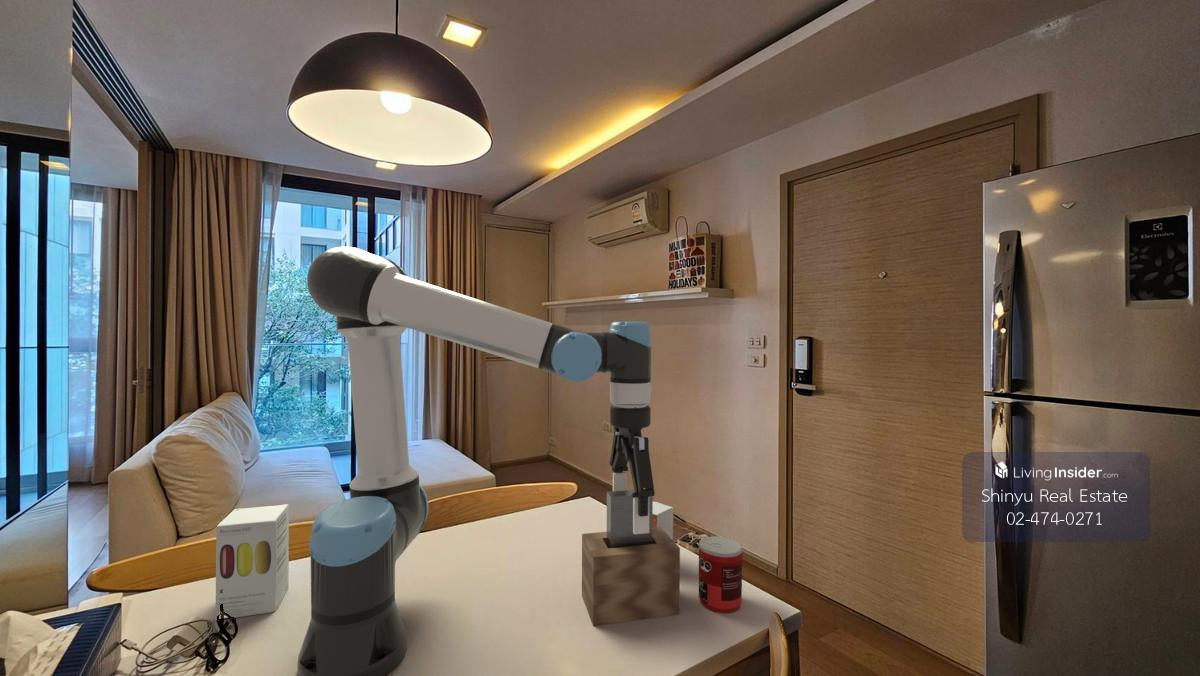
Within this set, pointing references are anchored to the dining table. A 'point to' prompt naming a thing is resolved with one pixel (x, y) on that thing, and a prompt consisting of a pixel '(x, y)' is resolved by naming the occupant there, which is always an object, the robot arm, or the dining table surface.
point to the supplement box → (252, 560)
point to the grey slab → (624, 521)
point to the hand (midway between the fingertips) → (629, 518)
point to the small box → (663, 518)
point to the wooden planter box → (630, 578)
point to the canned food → (720, 574)
